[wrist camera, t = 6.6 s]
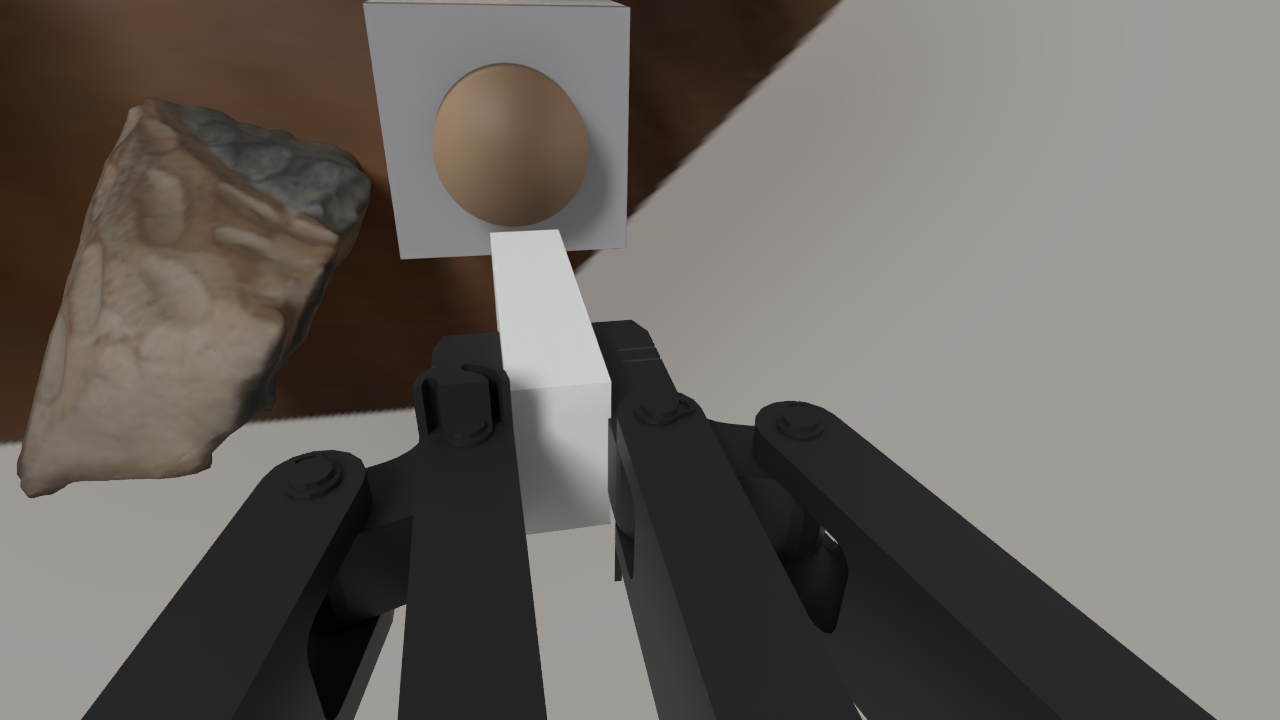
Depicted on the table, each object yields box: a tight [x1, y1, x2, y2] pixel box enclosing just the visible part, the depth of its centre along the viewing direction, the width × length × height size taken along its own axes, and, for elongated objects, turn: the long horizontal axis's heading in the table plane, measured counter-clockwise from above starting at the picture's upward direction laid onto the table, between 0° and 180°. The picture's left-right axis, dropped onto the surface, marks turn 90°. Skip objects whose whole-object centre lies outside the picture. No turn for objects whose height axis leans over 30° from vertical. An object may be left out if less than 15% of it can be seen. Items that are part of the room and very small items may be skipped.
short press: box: [363, 0, 630, 259], centre depth 36 cm, size 10×10×15 cm
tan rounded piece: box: [432, 63, 589, 227], centre depth 35 cm, size 7×7×16 cm
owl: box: [17, 98, 372, 498], centre depth 35 cm, size 13×13×20 cm
